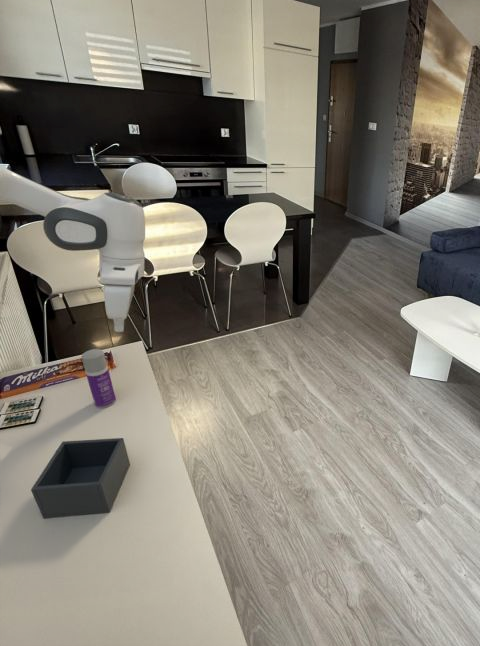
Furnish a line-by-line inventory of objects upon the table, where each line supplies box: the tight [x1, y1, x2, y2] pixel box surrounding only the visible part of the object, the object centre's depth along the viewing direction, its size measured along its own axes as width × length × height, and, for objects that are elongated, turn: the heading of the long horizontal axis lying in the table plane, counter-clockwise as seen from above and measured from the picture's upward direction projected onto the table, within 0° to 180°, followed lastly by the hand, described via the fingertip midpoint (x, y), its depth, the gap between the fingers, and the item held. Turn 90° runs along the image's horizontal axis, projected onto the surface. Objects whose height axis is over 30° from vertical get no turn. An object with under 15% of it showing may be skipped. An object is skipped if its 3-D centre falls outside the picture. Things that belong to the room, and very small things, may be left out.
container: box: [81, 348, 117, 409], centre depth 99 cm, size 5×5×15 cm
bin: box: [30, 437, 131, 519], centre depth 78 cm, size 11×11×8 cm
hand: (121, 322), depth 94 cm, fingers open, 8 cm apart
